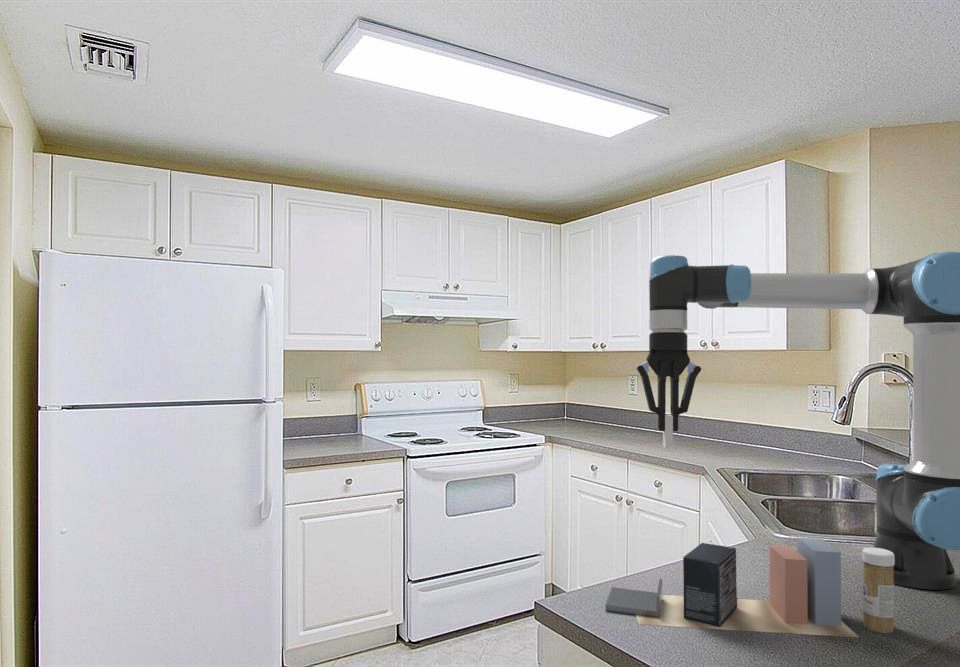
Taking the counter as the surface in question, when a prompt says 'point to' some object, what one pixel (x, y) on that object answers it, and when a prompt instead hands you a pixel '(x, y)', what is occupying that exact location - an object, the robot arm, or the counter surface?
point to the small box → (710, 584)
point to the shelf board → (741, 619)
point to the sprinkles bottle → (878, 589)
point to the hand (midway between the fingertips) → (667, 447)
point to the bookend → (635, 601)
